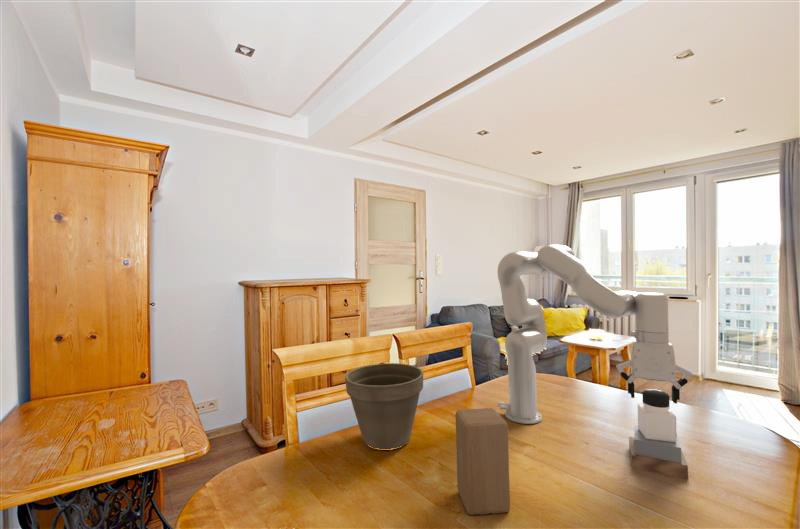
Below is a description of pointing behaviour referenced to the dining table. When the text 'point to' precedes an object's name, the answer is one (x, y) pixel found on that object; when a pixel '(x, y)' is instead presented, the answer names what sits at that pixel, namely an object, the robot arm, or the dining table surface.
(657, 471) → the tower base
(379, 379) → the plant pot
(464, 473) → the wooden block
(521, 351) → the robot arm
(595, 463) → the dining table surface
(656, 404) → the medicine bottle
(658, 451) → the tower top
